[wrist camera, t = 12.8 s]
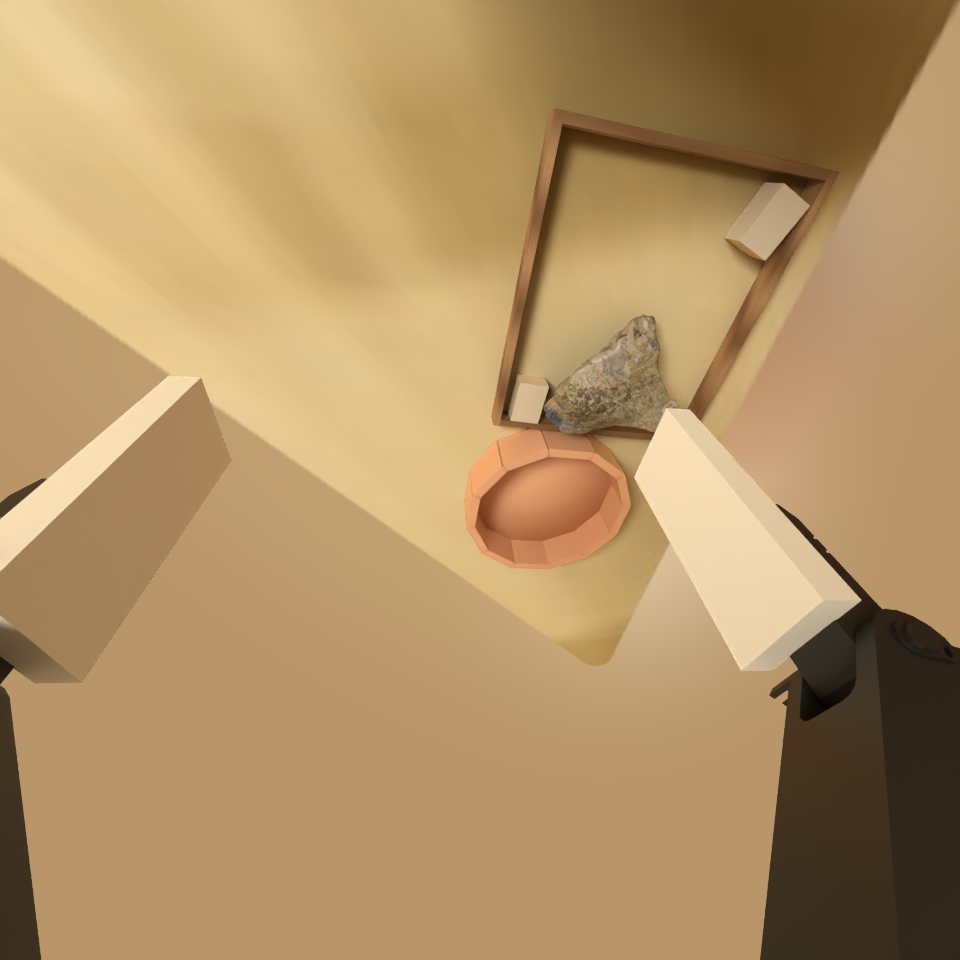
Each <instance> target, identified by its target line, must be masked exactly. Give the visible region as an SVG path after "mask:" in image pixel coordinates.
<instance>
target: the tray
mask: <svg viewBox="0 0 960 960" xmlns="http://www.w3.org/2000/svg"><path fill="white" fill-rule="evenodd" d="M562 127H566V128H571V129H575V130H580V131H584V132H589V133H594V134H598V135H603V136H607V137H612V138H617V139H621V140H626V141H631V142H635V143H640V144H644V145H649V146H654V147H658V148H663V149H667V150H672V151H677V152H681V153H686V154H690V155H695V156H700V157H704V158H709V159H714V160H718V161H723V162H727V163H732V164H737V165H741V166H746V167H750V168H755V169H760V170H764V171H769V172H774V173H778V174H783V175H787V176H792V177H797V178H801V179H806V180H808V181H807V183H806V185H805V187H804V189H803V191H802V193H801V195H800V196H799V197H801V198H802V199H803V200H804V201H805V202H806V203H807V204H809V205H810V207H809V208H808V209H807V211H806V212H805V213H804V214H803V215H802V217H801V218H800V219H799V220H798V222H797V223H796V224H795V225H794V226H793V228H792V229H791V230H790V231H789V233H788V234H787V235H786V236H785V237H784V239H783V240H782V241H781V242H780V244H779V245H778V246H777V247H776V248H775V250H774V251H773V252H772V253H771V255H770V256H769V257H768V258H767V259H766V261H765V263H764V265H763V267H762V269H761V271H760V272H759V274H758V276H757V278H756V280H755V282H754V284H753V286H752V288H751V290H750V291H749V293H748V295H747V297H746V299H745V301H744V303H743V305H742V307H741V309H740V310H739V312H738V314H737V316H736V318H735V320H734V322H733V324H732V326H731V328H730V329H729V331H728V333H727V335H726V337H725V339H724V341H723V343H722V345H721V347H720V348H719V350H718V352H717V354H716V356H715V358H714V360H713V362H712V364H711V366H710V367H709V369H708V371H707V373H706V375H705V377H704V379H703V381H702V383H701V385H700V386H699V388H698V390H697V392H696V394H695V396H694V398H693V400H692V402H691V404H690V405H689V407H688V410H691V411H692V413H693V414H694V415H695V416H696V417H697V418H698V419H699V420H701V418H702V416H703V414H704V413H705V411H706V409H707V407H708V405H709V404H710V402H711V400H712V398H713V396H714V395H715V393H716V391H717V389H718V388H719V386H720V384H721V382H722V380H723V379H724V377H725V375H726V373H727V371H728V370H729V368H730V366H731V364H732V362H733V361H734V359H735V357H736V355H737V354H738V352H739V350H740V348H741V346H742V345H743V343H744V341H745V339H746V337H747V336H748V334H749V332H750V330H751V328H752V327H753V325H754V323H755V321H756V320H757V318H758V316H759V314H760V312H761V311H762V309H763V307H764V305H765V303H766V302H767V300H768V298H769V296H770V294H771V293H772V291H773V289H774V287H775V286H776V284H777V282H778V280H779V278H780V277H781V275H782V273H783V271H784V269H785V268H786V266H787V264H788V262H789V260H790V259H791V257H792V255H793V253H794V252H795V250H796V248H797V246H798V244H799V243H800V241H801V239H802V237H803V235H804V234H805V232H806V230H807V228H808V226H809V225H810V223H811V221H812V219H813V218H814V216H815V214H816V212H817V210H818V209H819V207H820V205H821V203H822V201H823V200H824V198H825V196H826V194H827V192H828V191H829V189H830V187H831V185H832V184H833V182H834V180H835V178H836V176H837V175H838V173H839V172H836V171H832V170H827V169H823V168H818V167H814V166H809V165H805V164H800V163H796V162H791V161H787V160H782V159H778V158H773V157H769V156H764V155H760V154H756V153H751V152H747V151H742V150H738V149H733V148H729V147H724V146H720V145H715V144H711V143H706V142H702V141H697V140H693V139H688V138H684V137H679V136H675V135H670V134H666V133H662V132H657V131H653V130H648V129H644V128H639V127H635V126H630V125H626V124H621V123H617V122H612V121H608V120H603V119H599V118H594V117H590V116H585V115H581V114H577V113H572V112H568V111H563V110H559V109H555V110H553V111H550V114H549V119H548V125H547V130H546V135H545V140H544V145H543V151H542V156H541V161H540V166H539V172H538V177H537V182H536V187H535V192H534V198H533V203H532V208H531V213H530V218H529V224H528V229H527V234H526V239H525V245H524V250H523V255H522V260H521V265H520V271H519V276H518V281H517V286H516V292H515V297H514V302H513V307H512V312H511V318H510V323H509V328H508V333H507V338H506V344H505V349H504V354H503V359H502V365H501V370H500V375H499V380H498V385H497V391H496V396H495V401H494V406H493V411H492V420H493V425H500V426H510V427H521V428H532V429H543V430H554V431H560V429H559V427H557V426H556V425H555V424H554V423H553V422H552V420H550V419H549V418H547V417H546V416H542V415H540V418H539V422H538V424H534V423H525V422H517V421H510V417H509V414H508V412H502V411H503V406H504V401H505V397H506V392H507V387H508V382H509V377H510V373H511V368H512V363H513V358H514V353H515V349H516V344H517V339H518V334H519V329H520V325H521V320H522V315H523V310H524V306H525V301H526V296H527V291H528V286H529V282H530V277H531V272H532V267H533V262H534V258H535V253H536V248H537V243H538V238H539V234H540V229H541V224H542V219H543V215H544V210H545V205H546V200H547V195H548V191H549V186H550V181H551V176H552V171H553V167H554V162H555V157H556V152H557V147H558V143H559V138H560V133H561V128H562ZM654 433H655V432H650V431H647V430H645V429H639V428H635V427H621V426H616V425H615V426H610V427H606V428H600V429H595V430H592V431H590V432H587V433H586V434H597V435H608V436H619V437H630V438H641V439H651V440H652V438H653V436H654Z"/></svg>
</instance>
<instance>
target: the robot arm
mask: <svg viewBox="0 0 960 960" xmlns="http://www.w3.org/2000/svg"><path fill="white" fill-rule="evenodd" d="M230 461H231V458H230V455H229V452H228V450H227V447H226V444H225V442H224V439H223V436H222V433H221V431H220V428H219V425H218V423H217V420H216V417H215V415H214V412H213V409H212V406H211V404H210V401H209V398H208V396H207V393H206V390H205V387H204V385H203V382H202V379H201V377H186V376H171V375H169V376H168V377H167V378H166V379H165V380H163V381H162V382H161V383H160V384H159V385H158V386H157V387H155V388H154V389H153V390H152V391H150V392H149V393H148V394H147V395H146V396H145V397H143V398H142V399H141V400H140V401H139V402H138V403H136V404H135V405H134V406H133V407H132V408H131V409H129V410H128V411H127V412H126V413H125V414H124V415H122V416H121V417H120V418H119V419H118V420H116V421H115V422H114V423H113V424H112V425H110V426H109V427H108V428H107V429H106V430H105V431H103V432H102V433H101V434H100V435H99V436H98V437H96V438H95V439H94V440H93V441H92V442H90V443H89V444H88V445H87V446H86V447H85V448H84V449H82V450H81V451H80V452H79V453H78V454H76V455H75V456H74V457H73V458H72V459H71V460H69V461H68V462H67V463H66V464H65V465H63V466H62V467H61V468H60V469H59V470H58V471H56V472H55V473H54V474H53V475H52V476H51V477H49V478H48V479H40V480H38V481H36V482H34V483H32V484H31V485H29V486H27V487H25V488H23V489H21V490H19V491H17V492H15V493H13V494H11V495H10V496H8V497H7V498H6V499H5V500H3V501H2V502H1V503H0V684H1V683H2V681H3V680H4V679H5V678H6V677H7V675H8V674H9V673H10V672H11V670H12V669H13V668H14V669H16V670H17V671H18V672H20V673H21V674H23V675H24V676H25V677H27V678H28V679H30V680H31V681H32V682H34V683H73V682H74V683H77V682H83V680H84V679H85V677H86V675H87V674H88V673H89V671H90V670H91V668H92V667H93V665H94V664H95V662H96V661H97V659H98V658H99V656H100V655H101V653H102V652H103V650H104V649H105V647H106V646H107V644H108V643H109V641H110V640H111V638H112V637H113V635H114V634H115V633H116V631H117V629H118V628H119V627H120V625H121V624H122V622H123V621H124V619H125V617H126V616H127V615H128V613H129V612H130V610H131V609H132V607H133V605H134V604H135V603H136V601H137V600H138V598H139V597H140V595H141V594H142V592H143V591H144V589H145V588H146V586H147V585H148V583H149V582H150V580H151V579H152V577H153V576H154V575H155V573H156V571H157V570H158V568H159V567H160V565H161V564H162V563H163V561H164V560H165V558H166V557H167V555H168V554H169V552H170V551H171V549H172V548H173V546H174V545H175V543H176V542H177V540H178V539H179V537H180V536H181V534H182V533H183V531H184V530H185V528H186V527H187V525H188V524H189V522H190V521H191V519H192V518H193V516H194V515H195V513H196V512H197V511H198V509H199V508H200V506H201V504H202V503H203V502H204V500H205V499H206V497H207V496H208V494H209V493H210V491H211V490H212V488H213V487H214V485H215V484H216V482H217V481H218V479H219V478H220V476H221V475H222V473H223V472H224V470H225V469H226V467H227V466H228V464H229V463H230ZM634 478H635V480H636V482H637V484H638V486H639V487H640V489H641V491H642V493H643V495H644V496H645V498H646V500H647V502H648V504H649V505H650V507H651V509H652V511H653V513H654V514H655V516H656V518H657V520H658V522H659V524H660V525H661V527H662V529H663V531H664V533H665V534H666V536H667V538H668V540H669V542H670V543H671V545H672V547H673V549H674V550H675V552H676V554H677V556H678V558H679V559H680V561H681V563H682V565H683V567H684V569H685V570H686V572H687V574H688V576H689V578H690V579H691V581H692V583H693V585H694V586H695V588H696V590H697V592H698V594H699V596H700V597H701V599H702V601H703V603H704V605H705V606H706V608H707V610H708V612H709V614H710V615H711V617H712V619H713V621H714V623H715V624H716V626H717V628H718V630H719V631H720V634H721V635H722V637H723V639H724V641H725V643H726V644H727V646H728V648H729V650H730V652H731V653H732V655H733V657H734V659H735V661H736V662H737V664H738V666H739V668H740V670H741V671H762V670H763V671H767V670H774V669H775V668H776V667H778V666H779V665H780V664H781V663H782V662H784V661H785V660H786V659H788V658H789V657H791V659H792V660H793V662H794V663H795V665H796V666H797V668H798V670H797V671H796V672H794V673H793V674H792V675H790V676H789V677H788V678H786V679H785V680H784V681H782V682H781V683H779V684H778V685H777V686H775V687H774V688H773V689H772V691H771V693H770V696H771V697H773V698H774V699H775V698H776V697H778V696H779V695H781V694H782V693H784V692H785V691H786V690H788V691H789V692H788V699H787V700H785V701H784V702H783V704H784V705H786V706H787V710H786V720H785V729H784V738H783V748H782V757H781V767H780V777H779V786H778V795H777V805H776V814H775V824H774V833H773V843H772V853H771V862H770V871H769V881H768V890H767V901H766V909H765V919H764V929H763V938H762V947H761V957H760V960H960V648H957V647H953V646H951V645H950V643H949V642H948V641H947V640H946V639H945V638H944V637H943V636H941V635H940V634H939V633H938V632H936V631H935V630H934V629H933V628H932V627H930V626H928V625H927V624H926V623H923V622H922V621H920V620H919V619H917V618H915V617H913V616H911V615H908V614H906V613H903V612H900V611H897V610H890V609H881V607H879V606H878V604H877V603H876V602H875V601H874V600H873V599H872V598H871V597H870V596H869V595H868V594H867V593H866V592H865V590H864V589H863V588H862V587H861V586H860V585H859V584H858V583H857V582H856V581H855V580H854V579H853V578H852V576H851V575H850V574H849V573H848V572H847V571H846V570H845V569H844V568H843V567H842V566H841V565H840V563H839V562H838V561H837V560H836V559H835V558H834V557H833V556H832V555H831V554H830V553H826V550H827V549H826V548H825V547H824V546H823V545H822V544H821V543H820V542H819V541H818V540H817V539H814V538H813V537H814V535H812V533H811V532H810V531H809V530H808V529H807V528H806V527H805V526H804V525H803V524H802V522H800V520H799V519H797V518H796V517H795V516H793V515H792V514H790V513H789V512H788V511H786V510H785V509H783V508H782V507H781V506H779V505H778V504H774V503H773V501H772V500H771V499H770V498H769V497H768V496H767V495H766V494H765V493H764V491H763V490H762V489H761V488H760V487H759V486H758V485H757V484H756V483H755V481H754V480H753V479H752V478H751V477H750V476H749V475H748V474H747V473H746V471H744V469H743V468H742V467H741V466H740V465H739V464H738V463H737V461H736V460H735V459H734V458H733V457H732V456H731V455H730V454H729V453H728V451H727V450H726V449H725V448H724V447H723V446H722V445H721V444H720V443H719V441H718V440H717V439H716V438H715V437H714V436H713V435H712V434H711V433H710V431H709V430H708V429H707V428H706V427H705V426H704V425H703V424H702V423H701V421H700V420H699V419H698V418H697V417H696V416H695V415H694V414H693V413H692V411H691V410H688V409H673V408H666V410H665V412H664V414H663V416H662V418H661V421H660V423H659V425H658V427H657V429H656V431H655V433H654V436H653V438H652V440H651V442H650V444H649V446H648V449H647V451H646V453H645V455H644V457H643V459H642V462H641V464H640V466H639V468H638V470H637V472H636V474H635V477H634ZM0 960H41V954H40V946H39V938H38V929H37V921H36V913H35V905H34V896H33V888H32V879H31V871H30V864H29V855H28V846H27V838H26V830H25V821H24V813H23V805H22V796H21V788H20V780H19V772H18V763H17V755H16V747H15V739H14V731H13V722H12V713H11V705H10V697H9V695H8V694H7V692H6V690H5V689H4V688H3V687H2V686H0Z"/></svg>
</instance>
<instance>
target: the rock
mask: <svg viewBox="0 0 960 960" xmlns="http://www.w3.org/2000/svg"><path fill="white" fill-rule="evenodd" d="M655 328H656V322H655V319H654V317H653V316H645V315H642V316H640V317H636V318H634V319H632V320H631V321H630V323H629V324H628V325H627V326H626V327H625V328H624V329H623V330H622V331H620V332H618V333H617V334H616V335H615V336H613V338H612V339H611V341H610V342H609V344H608V345H607V346H606V347H604V348H603V349H602V350H601V352H600V353H598V354H596V355H595V356H592V357H591V359H589V360H587V361H586V362H585V363H584V364H583V365H582V366H581V367H580V368H579V369H577V370H576V371H575V373H574V374H573V375H572V376H571V377H568V378H567V379H566V380H565V381H564V382H562V383H561V384H560V385H559V386H558V389H557V390H556V391H555V395H554V396H553V397H552V398H551V399H550V400H548V402H547V403H546V404H545V406H544V411H545V412H546V417H547V418H549V419H550V420H552V422H553V423H554V424H555V425H556V426H557V427H559V429H560V431H562V432H564V433H567V434H570V433H573V434H583V433H587V432H590V431H592V430H595V429H600V428H606V427H610V426H615V425H616V426H621V427H635V428H639V429H645V430H647V431H650V432H655V431H656V429H657V427H658V425H659V423H660V421H661V418H662V416H663V414H664V412H665V410H666V408H673V409H678V405H677V403H676V401H675V400H671V399H670V398H669V396H668V394H667V391H666V389H665V386H664V384H663V382H662V379H661V376H660V374H659V371H658V368H657V356H658V354H659V352H660V348H659V343H658V340H657V337H656V334H655Z"/></svg>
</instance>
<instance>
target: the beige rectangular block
mask: <svg viewBox="0 0 960 960" xmlns="http://www.w3.org/2000/svg"><path fill="white" fill-rule="evenodd" d="M809 207H810V205H809V204H807V203H806V202H805V201H804V200H803V199H802V198H801V197H799V196H798V195H797V194H796V193H795V192H794V191H793V190H791V189H790V188H789V187H788V186H787V185H786V184H785V183H770V182H765V183H764V184H763V185H762V187H761V188H760V189H759V191H758V192H757V193H756V195H755V196H754V197H753V199H752V200H751V201H750V203H749V204H748V205H747V207H746V208H745V210H744V211H743V212H742V214H741V215H740V216H739V218H738V219H737V220H736V222H735V223H734V224H733V226H732V227H731V228H730V230H729V231H728V232H727V234H726V235H725V237H724V238H725V239H727V240H728V241H729V242H731V243H732V244H733V245H735V246H736V247H737V248H739V249H740V250H741V251H743V252H744V253H745V254H747V255H748V256H751V257H754V258H758V259H761V260H764V261H766V259H767V258H768V257H769V256H770V255H771V253H772V252H773V251H774V250H775V248H776V247H777V246H778V245H779V244H780V242H781V241H782V240H783V239H784V237H785V236H786V235H787V234H788V233H789V231H790V230H791V229H792V228H793V226H794V225H795V224H796V223H797V222H798V220H799V219H800V218H801V217H802V215H803V214H804V213H805V212H806V211H807V209H808V208H809Z"/></svg>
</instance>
